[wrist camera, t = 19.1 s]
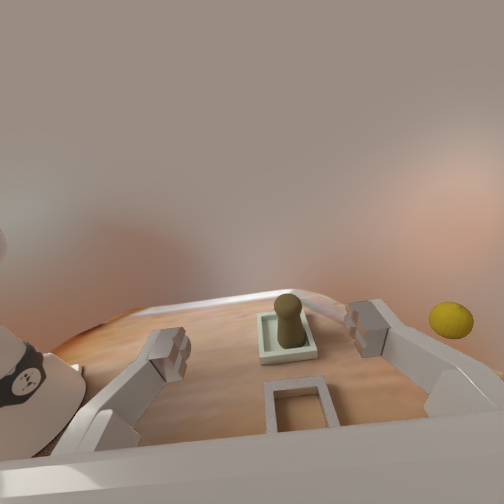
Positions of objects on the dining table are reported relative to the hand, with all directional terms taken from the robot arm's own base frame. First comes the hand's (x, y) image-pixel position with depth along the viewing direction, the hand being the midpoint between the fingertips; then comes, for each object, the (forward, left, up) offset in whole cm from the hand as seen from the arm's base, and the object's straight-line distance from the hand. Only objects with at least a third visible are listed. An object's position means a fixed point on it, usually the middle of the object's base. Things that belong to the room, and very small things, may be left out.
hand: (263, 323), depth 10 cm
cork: (+3, +20, -29) cm, 36 cm away
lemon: (+32, +17, -30) cm, 47 cm away
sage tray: (+2, +21, -30) cm, 37 cm away
